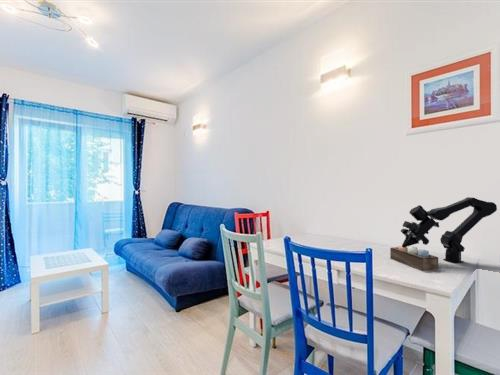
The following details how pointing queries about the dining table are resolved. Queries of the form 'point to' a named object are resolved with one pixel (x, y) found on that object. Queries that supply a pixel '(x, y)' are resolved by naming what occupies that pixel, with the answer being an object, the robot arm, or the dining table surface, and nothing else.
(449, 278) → the dining table surface
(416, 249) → the cream button
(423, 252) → the slate button
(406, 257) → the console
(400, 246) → the terracotta button
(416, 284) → the dining table surface
